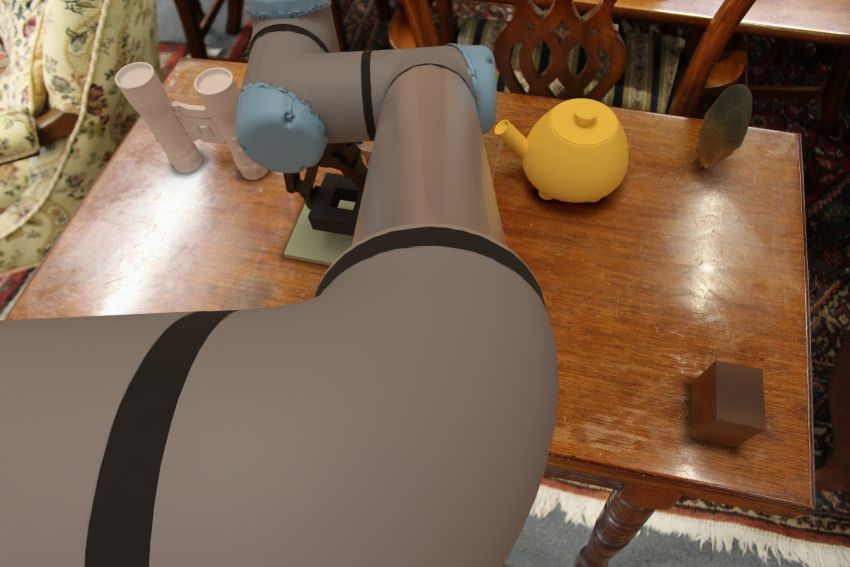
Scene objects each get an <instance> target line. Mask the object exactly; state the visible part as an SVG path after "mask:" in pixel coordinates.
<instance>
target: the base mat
mask: <svg viewBox="0 0 850 567" xmlns="http://www.w3.org/2000/svg"><path fill="white" fill-rule="evenodd" d="M354 205H355V202H349V201H343V200H340V202H339V205H338V207H337V208H343V209H349V210H353V208H354ZM309 212H310V209H308V208H307V206H306V204H305V203H304V205H303V207H302V210H301V212H300V214H299V217H298V219H297V221H296V224H295V226H294V229H293V231H292V233H291V235H290V238H289V240H288V242H287V245H286V247H285V250H284V252H283V256H284V258H286V259H290V260H296V261H302V262H307V263H312V264H317V265H323V266H328V267H330V265H331V264H332V263H333V262H334V261H335V260H336V259H337V258H338V257H339V256H340V255H341V254H342V253H343V252H344V251H346V250H347V249H348V248H350V247H351V246H352V242H353V237H354V236H348V235H342V234H337V233H331V232H325V231H319V230H313V229H312V226H311V224H310V221H309V219H308V215H309Z"/></svg>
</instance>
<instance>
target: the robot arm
mask: <svg viewBox="0 0 850 567" xmlns="http://www.w3.org/2000/svg"><path fill="white" fill-rule="evenodd" d="M244 3H245V7H244V8H245V13H247V15H248V16H249V18H250V21H251V24H252V31H251V32H252V33H251V36H250V42H249V45H248V46H249V47H248V60H247V64H246V68H245V72H244V76H243V79H242V83H241V87H240V89H239V91H240V92H239V94H238V98H237V99H238V101H237V112H236V128H235V133H236V138H237V141H238V144H239V146H240V147H241V149H242V151H243V152H244V153H245V154H246V155H247V156H248V157H249V158H250V159H251V160H252V161H253V162H255V163H256V164H258V165H260V166H262V167H264V168H266V169H268V171H272V172H275V173H280V174H283V179H284V184H285V190H286V191H287V193H289V194H295V193H297V194H299V196H300V197H301V198H302V199H303V201H304V205H305V204H306V206H307V208H308V209H310V210H311V208H312V205H313V203H314V201H315V199H316V196H317V194H318V191H319V189H320V186H321V185H316V184H315V183H316V178H317V176H318V172H319V169H320V168H322V169H323V168H324V169H329V168H330V169H335V170H336V171H340V172H341V174H342V175H344V176H345V177H346V178H350V179H351V180H352V181H353V182H354V184H355V185H356V186H357V187H358V189H359V190H360V191H361V192H362V194H363V195H362V200H361V204H360V209H359V214H358V218H357V223H356V228H355V232H354V237H353V242H352V246H351V247H350V248H348V249H347V250H346V251H344V252H343V253H342V254H341V255H340V256H339V257H338V258H337V259H336V260H335V261H334V262H333V263H332V264H331V265H330V266H328V268H327V270H326V271H325V272H324V274H322V276H321V277H322V278H321V279H320V282H319V283H318V286H317V288H316V291H315V294H314V297H312V298H309V299H306V300H303V301H299V302H297V303H290V304H289V303H288V304H283V305H276V306H267V307H254V308H245V309H243V308H242V309H227V310H223V309H222V310H195V311H193V310H192V311H171V312H150V313H129V314H108V315H105V314H104V315H85V316H66V317H65V316H64V317H63V316H62V317H43V318H25V319H24V318H21V319H1V320H0V567H503V566H504V564H505V563H506V561H507V559H508V557H509V555H510V554H511V552H512V550H513V548H514V546H515V545H516V542H517V540H518V538H519V537H520V534H521V533H522V532H523V530H524V526H525V525H526V522H527V521H528V520H527V519H528V517H529V515H530V513H531V510H532V508H533V506H534V504H535V501H536V499H537V496H538V492H539V490H540V486H541V484H542V481H543V478H544V474H545V472H546V469H547V468H546V467H547V464H548V459H549V455H550V451H551V447H552V443H553V438H554V434H555V428H556V424H557V415H558V414H557V413H558V405H559V393H560V381H559V380H560V379H559V360H558V359H559V358H558V348H557V344H556V339H555V335H554V331H553V327H552V323H551V322H552V321H551V319H550V315H549V313H548V312H549V311H548V309H547V306H546V302H545V298H544V294H543V291H542V288H541V286H540V284H539V281H538V278H537V277H536V275H535V274H534V273H533V270H532V269H531V267H530V266H529V265H528V264H527V263H526V262H525V261H524V260H523V259H522V258H521V257H520V255H519V254H518V253H516V252H515V251H514V250H513V249H511V248H510V247H508V245H507V243H506V238H505V233H504V229H503V224H502V220H501V214H500V211H499V210H500V209H499V206H498V201H497V196H496V192H495V187H494V183H493V178H492V173H491V169H490V163H489V160H488V155H487V151H486V146H485V141H484V136H483V135H487V134H489V133H490V132H491V131H492V130H493V129H494V127H495V124H496V120H497V119H496V118H497V109H498V108H497V105H498V103H497V102H498V88H497V87H498V86H497V85H498V84H497V70H496V63H495V57H494V54H493V52H492V50H491V49H490V48H489V47H487V46H485V45H481V44H471V45H470V44H456V43H454V42H453V43H447V44H446V45H437V46H423V47H422V46H421V47H407V48H393V49H379V50H378V49H377V50H358V51H355V50H354V51H340V50H341V49H340V45H339V40H338V36H337V35H338V34H337V30H336V25H335V20H334V15H333V11H332V0H244ZM364 142H366V143H367V142H373V145H369V144H366V143H364ZM363 157H364V158H365V161H366V165H365V163H364V161H363ZM367 166H368V167H367ZM304 171H305V174H304V177H303V179H301V173H302V172H304Z"/></svg>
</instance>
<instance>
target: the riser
mask: <svg viewBox="0 0 850 567" xmlns="http://www.w3.org/2000/svg"><path fill="white" fill-rule="evenodd" d="M689 387H690V388H689V389H690V390H689V391H690V392H689V394H690V396H689V397H690V402H689V407H690V408H689V412H690V413H689V420H690V421H689V439H690V440H695V441H699V442H706V443H710V444H714V445H718V446H723V447H728V448H736V447H738V446H740V445H741V444H743V443H745V442H747V441H748V440H751V439H752V438H754V437H756V436H758V435H759V434H761V433H762V432H765V431H766V430H767V424H766V423H767V422H766V407H765V389H764V374H763V368H759V367H753V366H748V365H743V364H737V363H732V362H728V361H721V360H715V361H713V362H712V363H711V364H710V365H709V366H708V367H707V368H706V369H704V371H703V372H702V373H700V375H698V377H697V378H696V379H694V380H693V381H692V382H691V383H690V386H689Z"/></svg>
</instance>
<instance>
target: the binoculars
mask: <svg viewBox="0 0 850 567" xmlns="http://www.w3.org/2000/svg"><path fill="white" fill-rule="evenodd" d="M114 82H115V84H116V86H117V87H118V88H119V90H120V91H121V93H122V94H123V96H124V98H125V99H126V100H127V102H128V103H129V104H130V106H131V107H132V108H133V109H134V110H135V112H137V113H138V115H140V117H141V118H142V119H143V121H144V123H145V124H146V125H147V127H148V130H149V132H150V133H152V134H153V136H154V137H155V140H156V142H157V143H158V144H159V146H160V147H161V149H162V150H163V152H164V154H165V155H166V158H167V160H168V162H169V163H170V164H171V165H172V166H173V167H174V169H175V170H176V171H177V172H178V173H180V174H189V173H190V174H191V173H193V172H195V171H197V170H198V169H199V168H200V167H201V165H202V164H203V157H202V155H201V153H200V150H199V148H198V146H197V144H195V142H197V141H198V140H200V141H202V142H204V143H209V144H224V143H225V144H226V146H227V147H228V150H229V151H230V152H231V153H230V154H231V156H232V158H233V160H234V164H235V167H236V168H237V170H238V171H239V172H240V174H241V175H242V177H243V178H244V179H246V180H248V181H249V180H250V181H253V180H255V181H256V180H259V179H261V178H263V177H265V176H266V175H267V173H268V171H269V169H266V168H264V167H262V166H260V165H258V164H256V163H255V162H253V161H252V160H251V159H250V158H249V157H248V156H247V155H246V154H245V153H244V152H243V151H242V149H241V147H240V146H239V144H238V141H237V138H236V133H235V128H236V112H237V101H238V99H237V98H238V94H239V92H240V89H239V86H238V84H237V82H236V80H235V78H234V74H233V73H232V71H231V70H229V69H228V68H225V67H220V66H219V67H211V68H208V69H204V70H203V71H201V72H200V73H199V74H198V75H196V77H195V78H194V81H193V88H194V90H195V91H196V93H197V95H198V97H199V99H200V101H201V103H202V105H198V104H197V105H196V104H188V103H184V102H179V100H174V101H172V102H171V101H170V99H169V97H168V94H167V91H166V89H165V86H164V85H163V83H162V81H161V79H160V78H159V76H158V74H157V72H156V71H155V68H154V66H153V65H152V64H150V63H148V62H144V61H136V62H135V61H134V62H131V63H128V64H126V65H124V66H122V67H121V68H119V70H118V71H117V73H116V74H115V76H114Z"/></svg>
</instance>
